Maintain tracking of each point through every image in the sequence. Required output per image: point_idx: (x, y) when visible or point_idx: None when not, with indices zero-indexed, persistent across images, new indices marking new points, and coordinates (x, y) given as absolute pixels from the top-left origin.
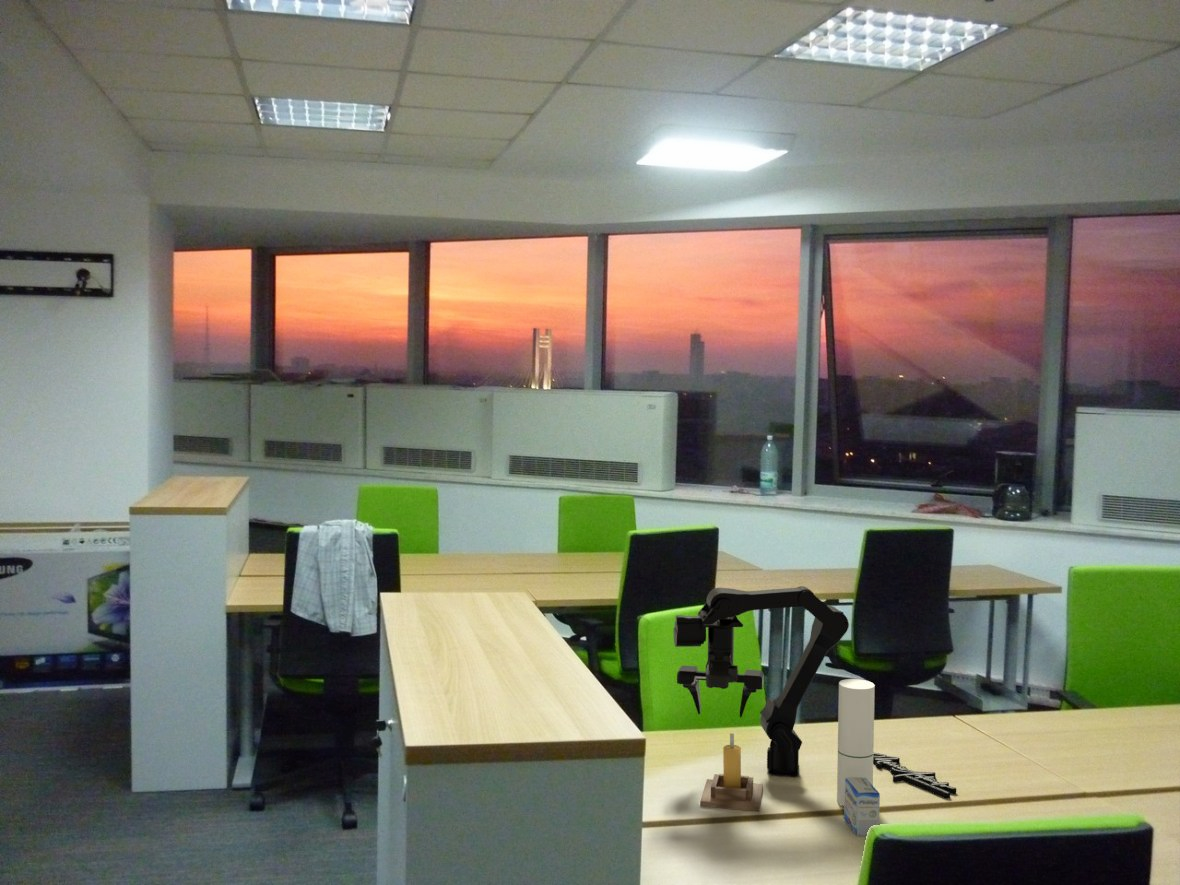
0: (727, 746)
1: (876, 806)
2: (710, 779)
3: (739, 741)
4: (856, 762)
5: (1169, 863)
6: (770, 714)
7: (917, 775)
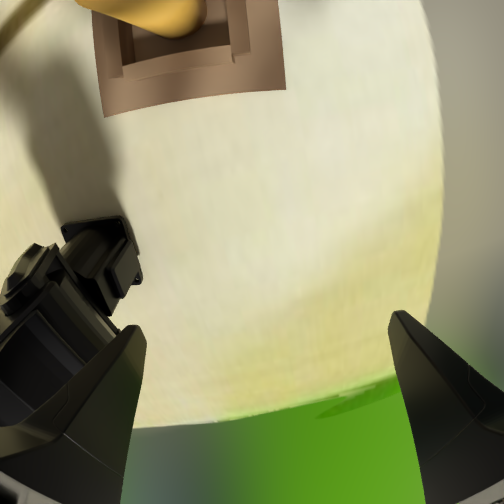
0: None
1: None
2: (273, 89)
3: (250, 372)
4: None
5: None
6: (21, 344)
7: None
